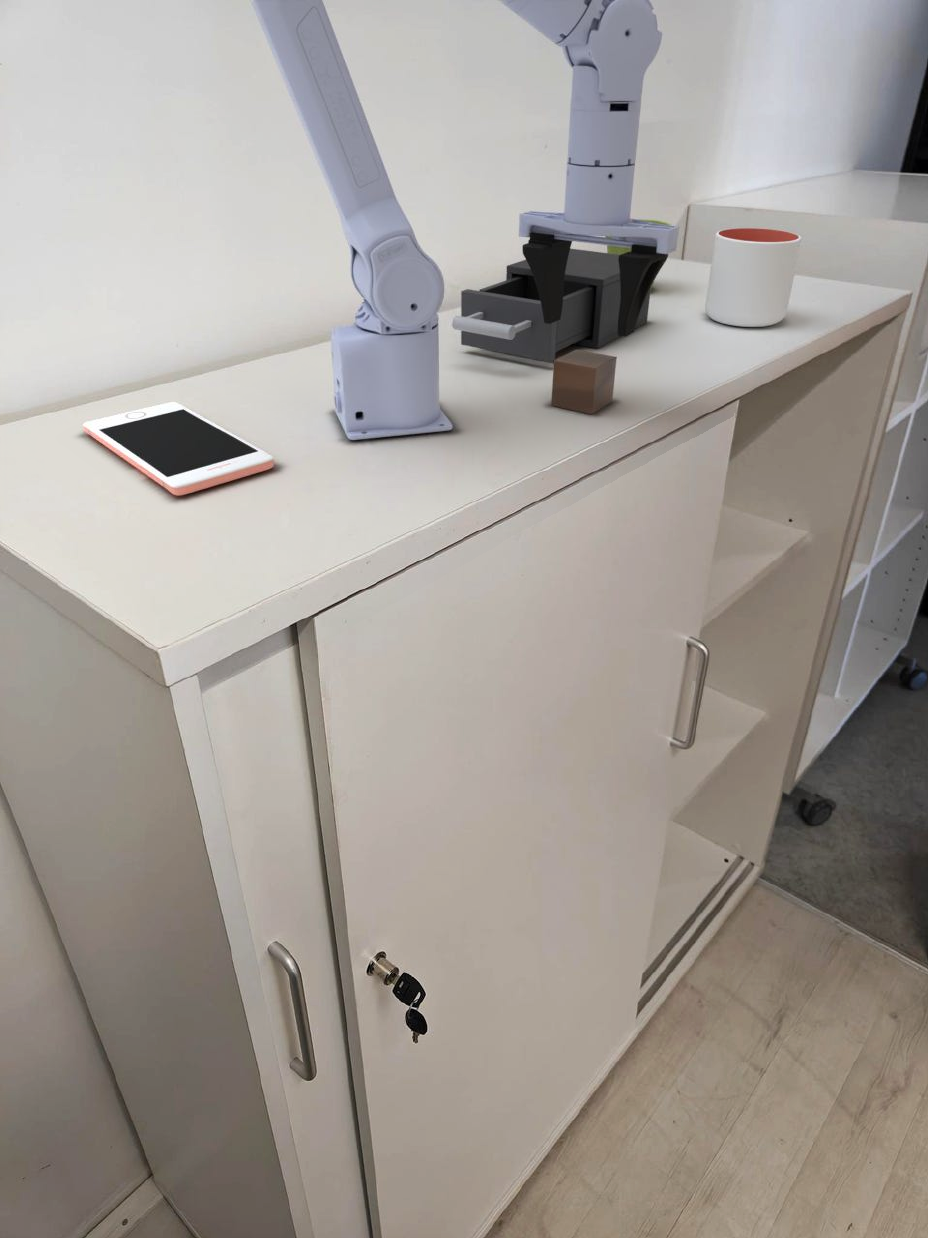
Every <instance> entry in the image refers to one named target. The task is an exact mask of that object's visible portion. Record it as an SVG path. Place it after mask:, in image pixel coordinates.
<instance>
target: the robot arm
mask: <svg viewBox="0 0 928 1238" xmlns="http://www.w3.org/2000/svg"><path fill="white" fill-rule="evenodd" d="M498 1H499V2H500V3H501V4H503V5H504V7H507V8H508V9H509V10H510V11H512V12H513V13H514V14H516V15H517V16H518V17H519V18H520V19H522V20H523V21H525V22H526V23H528V24H529V25H530V26H531V27H533V28H534V29H535V30H537V31H538V32H539V33H540V34H542V36H544V37H545V38H547V39H548V40H549V41H550V42H551V43H554V45H556V46H557V47H559V48H562V52H563V55H564V58H565V59H566V62H567V63H568V65H569V67H570V68H572V79H571V80H572V81H571V96H570V107H569V109H570V110H569V123H568V124H569V126H568V139H567V140H568V143H567V158H566V159H567V160H566V171H565V172H566V174H565V188H564V189H565V191H564V206H563V208H564V209H563V212H550V211H549V212H548V211H534V210H528V211H525V212H521V213H519V219H518V221H519V222H518V237H522V238H529V239H528V240H527V243H524V244H522V247H521V248H522V255H523V257H524V260H527V262H528V265H529V267H530V269H531V271H532V274H533V277H534V279H535V282H536V285H537V289H538V293H539V297H540V302H541V307H542V312H543V318H544V323H547V324H551V323H553V322H556V321H558V320H560V319H561V313H562V306H563V288H564V277H565V271H566V265H567V260H568V256H569V251H570V249H571V247H572V243H573V242H576V243H585V244H593V245H603V246H607V245H609V246H618V247H626V248H631V252H627V253H624V254H621V255H619V259H618V261H619V269H620V285H621V299H620V309H619V317H618V336H621V337H624V338H625V337H628V336H630V335H631V334H633V333H634V332H635V330H636V329H635V326H636V323H637V320H638V316H639V313H640V311H641V308H642V305H643V303H644V300H645V298H646V296H647V293H648V291H649V289H650V287H651V285H652V283H653V281H654V282H655V279H656V278H657V276H658V274H659V273H660V271H661V270H662V268H663V266H664V265H665V263H666V262H667V260H668V257H669V254H671V253H673V252H675V251H677V248H678V239H679V231H680V226H678V225H672V224H671V225H664V224H658V223H653V222H647V221H642V220H637V219H638V218H631V212H632V199H633V190H634V181H635V180H634V178H635V170H636V169H635V167H636V161H637V159H636V158H637V151H638V150H637V149H638V139H639V129H640V117H641V108H642V107H641V106H642V95H643V85H644V78H645V74H646V72H647V70H648V68H649V67H650V66H651V64H652V63H653V61H654V59H655V58H656V56H657V54H658V52H659V49H660V47H661V43H662V39H663V32H662V31H660V30H659V29H658V19H657V14H655V13H654V12H653V10H654V6H653V4H652V2H651V1H650V0H498ZM250 2H251V4H252V7H253V10H254V12H255V14H256V17H257V20H258V22H259V24H260V27H261V30H262V31H263V34H264V36H265V38H266V41H267V44H268V46H269V48H270V51H271V53H272V55H273V57H274V60H275V63H276V65H277V67H278V70H279V72H280V74H281V75H280V76H281V77H282V80H283V81H284V84H285V86H286V89H287V91H288V94H289V96H290V99H291V101H292V104H293V106H294V108H295V111H296V114H297V115H298V118H299V120H300V123H301V125H302V127H303V130H304V132H305V135H306V137H307V140H308V142H309V145H310V147H311V150H312V152H313V154H314V157H315V159H316V161H317V164H318V167H319V169H320V171H321V174H322V176H323V179H324V180H325V183H326V186H327V188H328V190H329V193H330V195H331V197H332V201H333V202H334V205H335V207H336V210H337V212H338V215H339V218H340V222H341V228H342V231H343V234H344V237H345V239H346V241H347V244H348V248H349V252H350V268H349V270H350V272H349V273H350V279H351V281H352V284H353V286H354V289H355V290H356V291H357V293H358V294H359V295H360V296H361V297H362V299H363V301H362V302H361V303H360V305H359V307H358V309H357V312H356V313H355V314H354V320H355V321H354V322H353V323H351V324H348V325H344V326H343V325H342V326H336V327H332V328H331V332H330V334H331V335H330V337H331V338H330V346H331V347H330V349H331V361H332V376H333V389H334V390H333V391H334V394H333V400H334V401H333V403H334V412H335V415H336V416H337V418H338V420H339V423H340V425H341V426H342V429H343V432H344V433H345V435H346V438H347V439H348V440H350V441H357V440H365V439H366V440H368V439H376V438H377V439H378V438H386V437H397V436H407V435H408V436H409V435H415V434H416V435H417V434H427V433H436V432H446V431H447V432H448V431H451V430H453V423H452V422H451V421H450V419H449V418H448V416H447V414H445V413H444V411H443V410H442V408H440V345H439V344H440V343H439V341H440V340H439V339H440V338H439V331H440V330H439V315H438V312H439V311H440V309H441V306H442V305H443V302H444V298H445V281H444V276H443V273H442V271H441V269H440V267H439V266H438V264H437V263H436V261H435V260H433V258H432V257H430V256H429V255H428V254H427V253H426V252H425V251H424V250H423V248H422V247H421V246H420V244H419V242H418V240H417V237H416V234H415V232H414V229H413V227H412V225H411V223H410V221H409V220H408V218H407V216H406V214H405V213H404V210H403V208H402V207H401V205H400V203H399V201H398V199H397V197H396V193H395V191H394V189H393V185H392V183H391V181H390V178H389V175H388V172H387V170H386V168H385V164H384V162H383V159H382V156H381V154H380V151H379V149H378V146H377V143H376V140H375V138H374V135H373V132H372V130H371V127H370V124H369V121H368V119H367V116H366V113H365V111H364V108H363V105H362V103H361V100H360V98H359V95H358V92H357V90H356V86H355V84H354V81H353V79H352V76H351V74H350V71H349V68H348V65H347V62H346V60H345V57H344V55H343V53H342V48H341V47H340V44H339V41H338V38H337V36H336V33H335V30H334V28H333V25H332V22H331V19H330V17H329V15H328V11H327V9H326V6H325V4H324V1H323V0H250ZM605 236H611V238H606V237H605ZM623 239H625V240H623ZM653 284H654V283H653Z"/></svg>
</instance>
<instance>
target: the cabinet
mask: <svg viewBox="0 0 928 1238" xmlns="http://www.w3.org/2000/svg"><path fill="white" fill-rule="evenodd" d="M618 259H619V255H618V254H610V253H607V252H602V251H601V252H600V251H594V250H586V249H577V248H570V251H569V256H568V260H567V265H566V271H565V277H564V281H567V282H574V283H581V284H587V285H594V286H597V290H596V302H595V315H594V327H593V334H592V335H590V336H588V337H586V338H584V339H582V340H580V341H577V342H575V343H573V344H572V345H576V346H582V347H587V348H592V349H597V350H598V349H600V348H601V347H603V346H606V345H607V344H610V343H611V342H613V341H615V340H617V339H619V338H621V337H622V336H618V317H619V309H620V299H621V285H620V269H619V261H618ZM520 275H526V276H533V274H532V271H531V269H530V267H529V265H528V262H527V260H526V259H523V260H521V261H520V260H519V261H517V262H515V263H511V264H508V265H506V276H505V278H506V280H509V279H512V278H515V277H517V276H520ZM506 280H505V281H506ZM651 290H652V289H651V287H650V289H649V291H648V293H647V296H646V298H645V300H644V303H643V305H642V308H641V311H640V313H639V316H638V320H637V323H636V326H635V330H637V329H638V328H641V327H642V326H644V325H646V324H647V323H648V316H649V307H650V300H651Z"/></svg>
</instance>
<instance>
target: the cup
mask: <svg viewBox="0 0 928 1238" xmlns="http://www.w3.org/2000/svg"><path fill="white" fill-rule="evenodd" d="M801 242H802V237H801V236H800V235H799V234H797V233H793V232H791V231H786V230H779V229H772V228H759V227H758V228H757V227H737V228H736V227H735V228H726V229H720V230H718V231H717V232H716V233H715V236H714V244H713V251H712V257H711V263H710V265H711V266H710V271H709V277H708V284H707V291H706V296H705V297H706V299H705V306H704V310H705V312H706V314H707V316H708V317H709V318H710V319H712V320H713V321H715V322H717V323H720V324H724V325H728V326H734V327H743V328H763V327H770V326H773V325H777V324H778V323H779V322H781V321H782V320H783V319H784V318H785V317H786V315H787V313H788V308H789V303H790V298H791V292H792V287H793V283H794V278H795V273H796V268H797V263H798V258H799V252H800V248H801Z"/></svg>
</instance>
